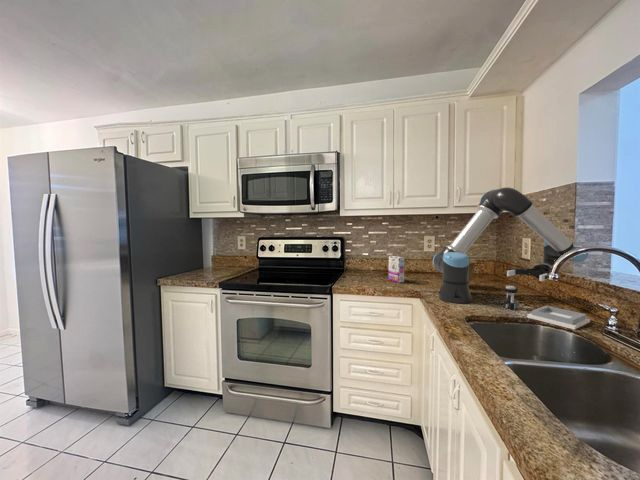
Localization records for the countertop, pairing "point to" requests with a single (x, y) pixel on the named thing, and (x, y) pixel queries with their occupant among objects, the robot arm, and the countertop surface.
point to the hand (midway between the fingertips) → (523, 275)
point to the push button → (510, 297)
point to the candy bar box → (396, 269)
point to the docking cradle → (559, 317)
